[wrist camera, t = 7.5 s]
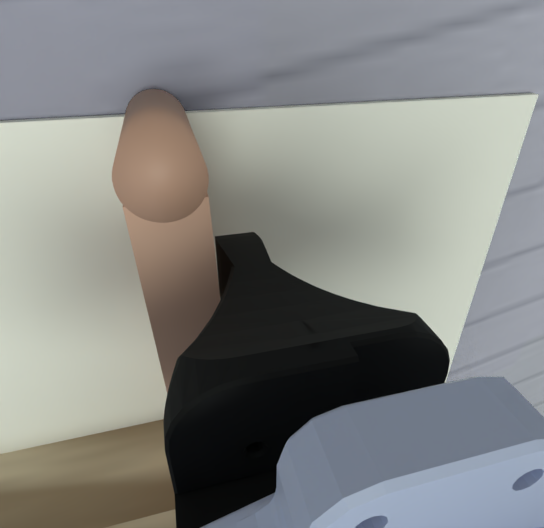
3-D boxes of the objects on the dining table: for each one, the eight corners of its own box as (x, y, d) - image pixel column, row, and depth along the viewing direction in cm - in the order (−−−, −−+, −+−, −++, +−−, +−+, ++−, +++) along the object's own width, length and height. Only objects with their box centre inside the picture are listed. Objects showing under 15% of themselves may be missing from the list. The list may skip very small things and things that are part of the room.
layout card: (421, 444, 24) (424, 450, 24) (26, 548, 20) (24, 556, 19) (531, 93, 14) (540, 94, 14) (-254, 133, 9) (-269, 138, 9)
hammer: (229, 422, 19) (255, 550, 14) (-35, 481, 16) (-104, 657, 12) (227, 393, 18) (254, 521, 13) (-56, 452, 15) (-140, 632, 11)
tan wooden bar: (182, 86, 11) (203, 128, 7) (223, 400, 17) (246, 516, 13) (119, 91, 10) (101, 137, 6) (186, 409, 17) (197, 529, 13)
